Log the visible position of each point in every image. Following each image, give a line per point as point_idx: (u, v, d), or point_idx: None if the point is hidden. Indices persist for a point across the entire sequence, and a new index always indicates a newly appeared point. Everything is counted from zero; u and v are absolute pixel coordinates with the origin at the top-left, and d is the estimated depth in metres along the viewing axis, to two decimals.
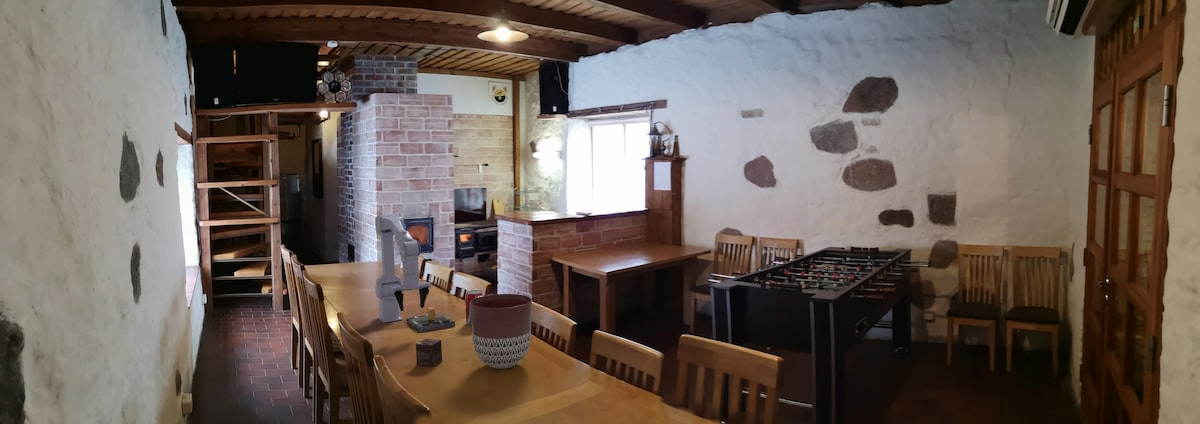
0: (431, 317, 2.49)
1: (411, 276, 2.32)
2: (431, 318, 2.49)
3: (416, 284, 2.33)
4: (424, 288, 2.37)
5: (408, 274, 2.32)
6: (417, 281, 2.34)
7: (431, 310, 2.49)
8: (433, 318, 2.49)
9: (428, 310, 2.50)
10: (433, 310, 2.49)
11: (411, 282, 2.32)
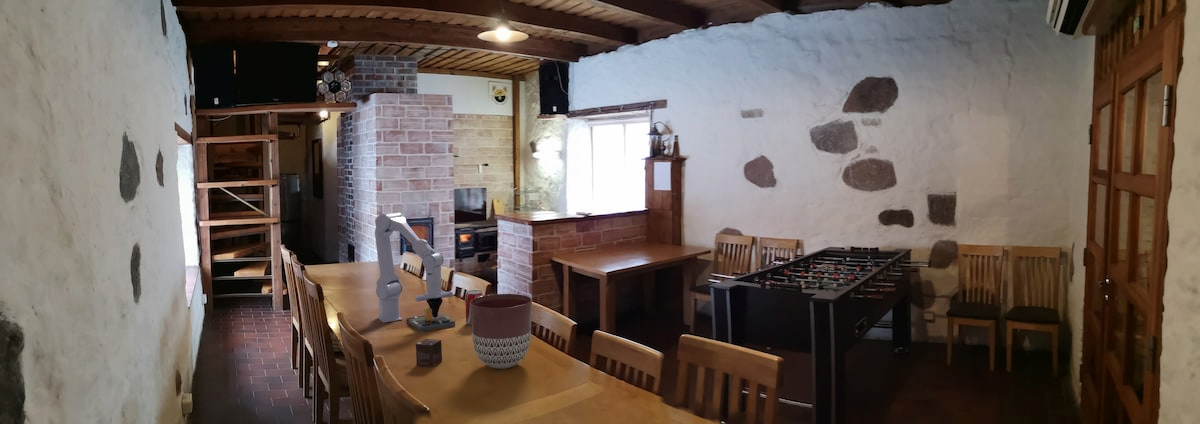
0: (428, 317, 2.48)
1: (434, 286, 2.47)
2: (428, 318, 2.48)
3: (439, 293, 2.49)
4: None
5: (432, 284, 2.47)
6: (440, 291, 2.49)
7: (428, 310, 2.48)
8: (430, 318, 2.49)
9: (425, 310, 2.49)
10: (430, 310, 2.48)
11: (434, 291, 2.48)
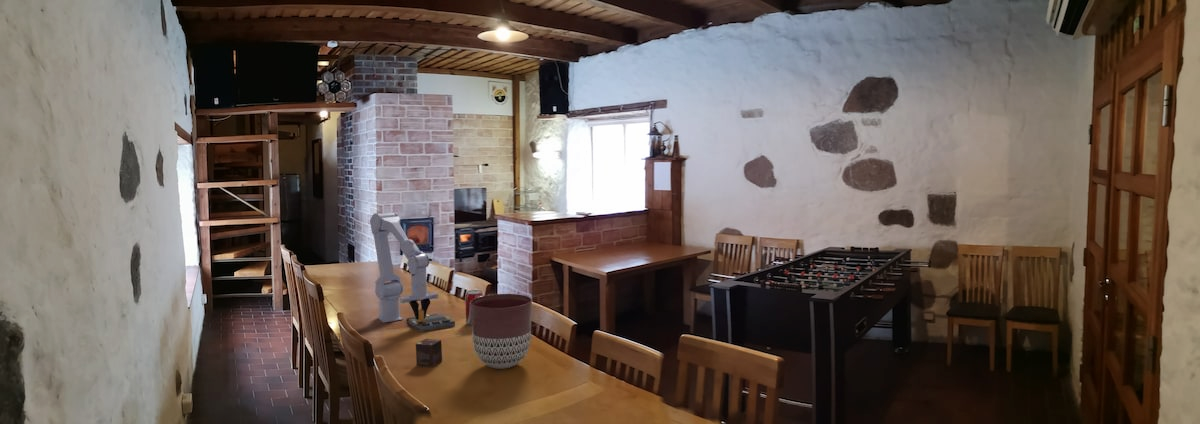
0: (420, 319, 2.46)
1: (419, 287, 2.44)
2: (420, 320, 2.46)
3: (424, 295, 2.46)
4: (432, 298, 2.49)
5: (417, 285, 2.44)
6: (425, 292, 2.46)
7: (420, 312, 2.46)
8: (422, 320, 2.47)
9: None
10: (422, 312, 2.47)
11: (419, 293, 2.44)
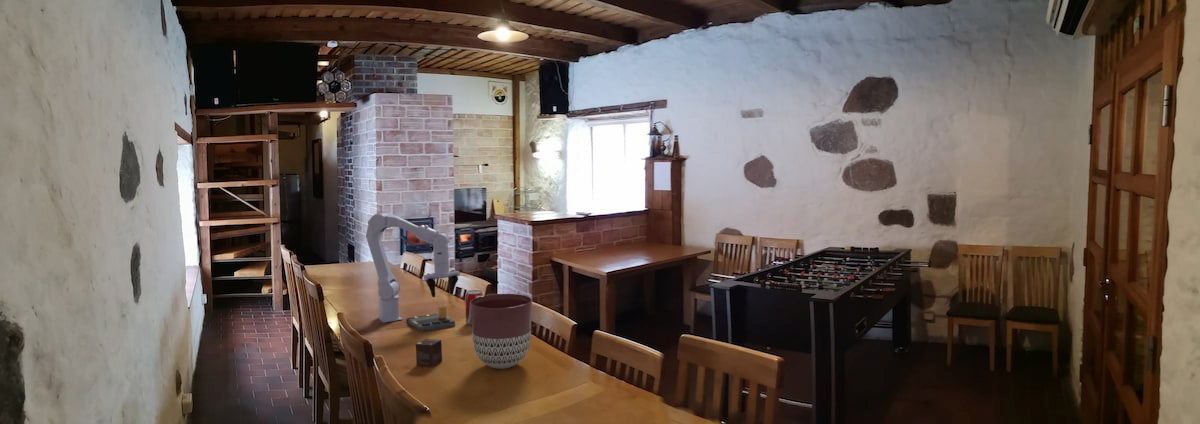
0: (442, 315, 2.52)
1: (442, 265, 2.55)
2: (442, 316, 2.52)
3: (446, 272, 2.56)
4: (453, 276, 2.60)
5: (439, 263, 2.55)
6: (447, 270, 2.57)
7: (442, 308, 2.51)
8: (444, 316, 2.52)
9: (439, 308, 2.52)
10: (444, 308, 2.52)
11: (442, 270, 2.55)
